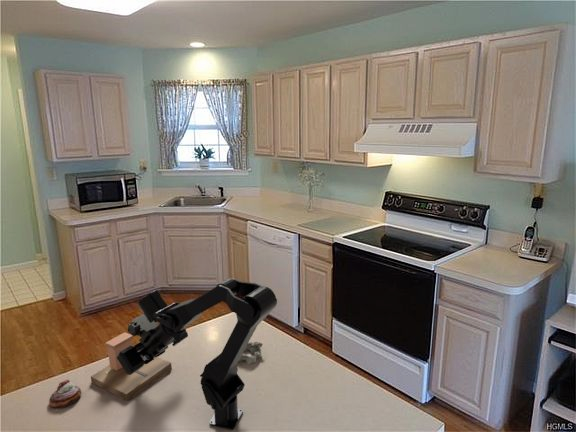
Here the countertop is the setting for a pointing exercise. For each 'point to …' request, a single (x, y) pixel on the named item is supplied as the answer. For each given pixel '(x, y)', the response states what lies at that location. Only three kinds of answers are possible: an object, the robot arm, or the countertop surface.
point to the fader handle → (118, 348)
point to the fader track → (130, 378)
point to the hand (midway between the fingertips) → (139, 359)
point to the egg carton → (253, 349)
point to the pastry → (64, 395)
